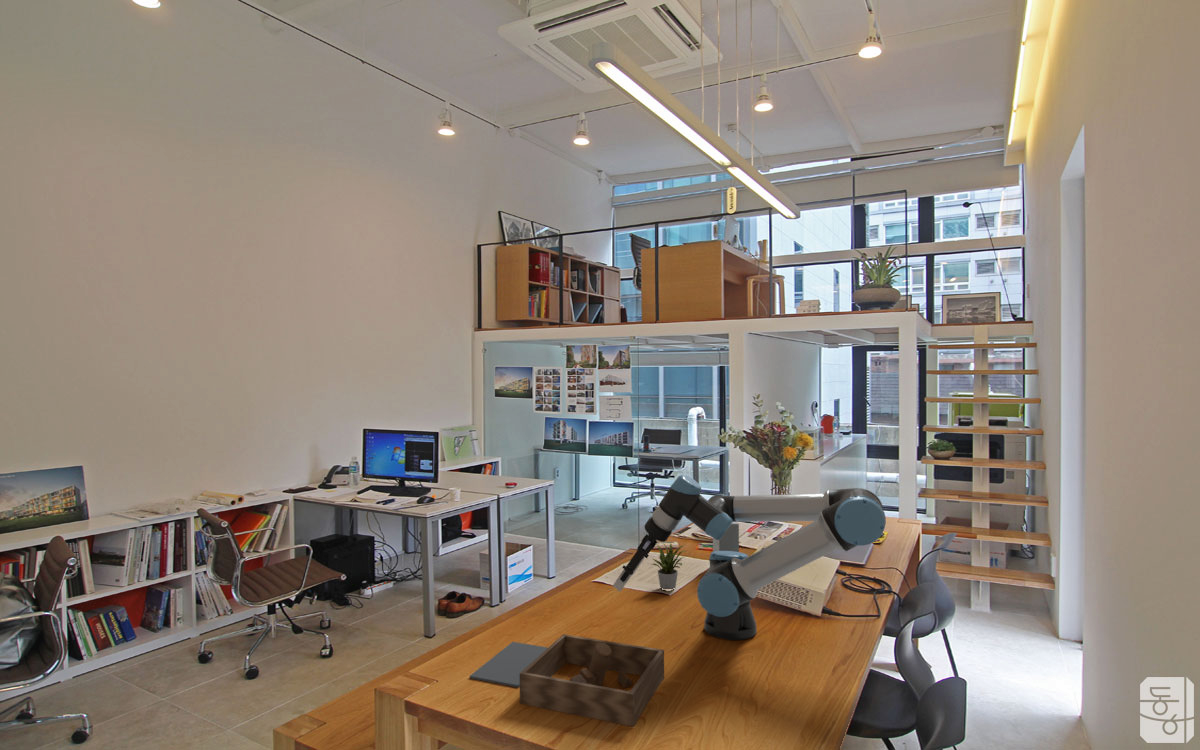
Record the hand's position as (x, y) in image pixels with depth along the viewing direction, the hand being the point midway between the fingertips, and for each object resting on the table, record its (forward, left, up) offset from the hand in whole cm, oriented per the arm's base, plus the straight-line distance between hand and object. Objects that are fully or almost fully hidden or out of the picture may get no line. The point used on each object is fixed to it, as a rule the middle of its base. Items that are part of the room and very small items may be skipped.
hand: (623, 580), depth 191 cm
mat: (+20, +28, -16) cm, 38 cm away
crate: (-5, +34, -16) cm, 38 cm away
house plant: (-3, -43, -16) cm, 46 cm away
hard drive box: (-17, -69, -16) cm, 73 cm away
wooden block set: (-5, +34, -16) cm, 38 cm away
